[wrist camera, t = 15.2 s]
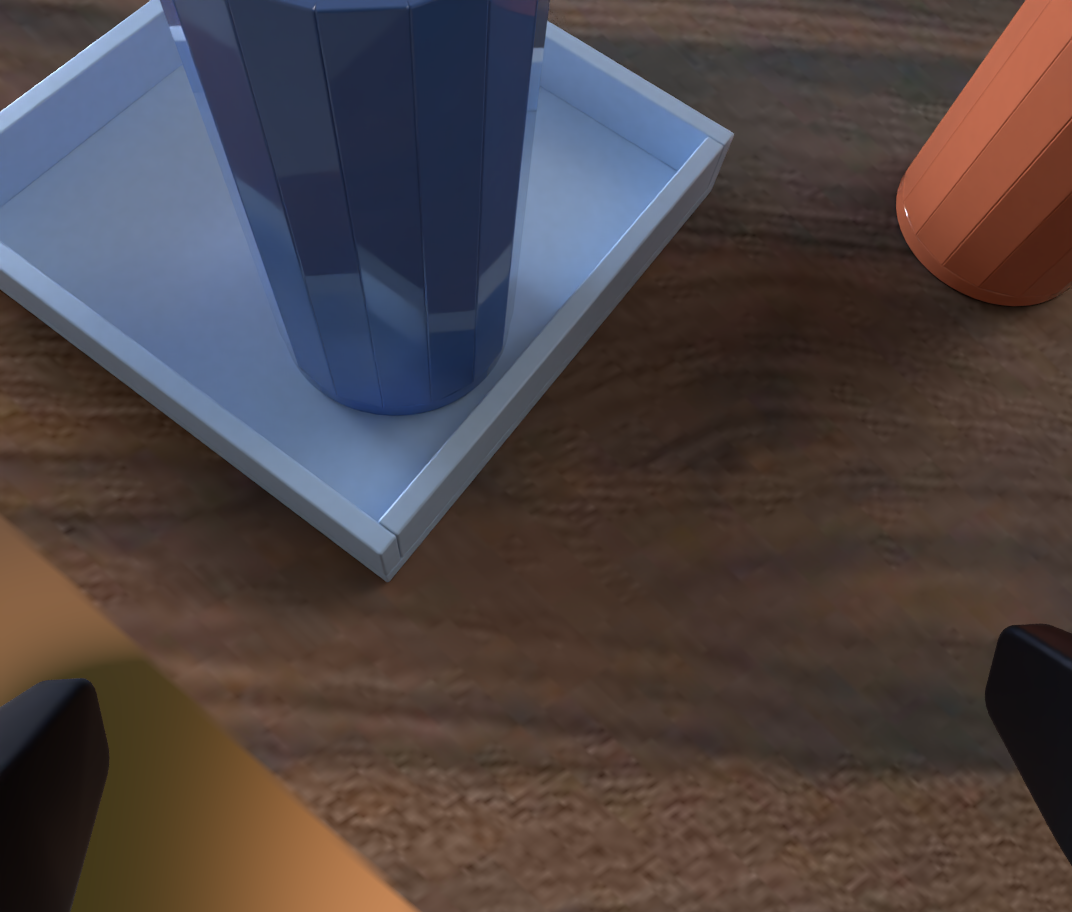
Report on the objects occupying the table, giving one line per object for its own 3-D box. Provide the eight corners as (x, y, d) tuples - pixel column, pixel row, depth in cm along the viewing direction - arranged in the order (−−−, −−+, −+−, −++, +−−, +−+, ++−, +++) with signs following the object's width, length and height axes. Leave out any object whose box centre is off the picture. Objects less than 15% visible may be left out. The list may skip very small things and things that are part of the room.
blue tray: (388, 583, 23) (380, 555, 20) (-53, 249, 25) (-107, 189, 23) (711, 190, 28) (735, 133, 26) (325, -49, 31) (314, -122, 29)
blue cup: (525, 404, 24) (594, 0, 12) (287, 427, 23) (112, 19, 11) (494, 213, 27) (526, -281, 15) (277, 229, 26) (122, -284, 14)
